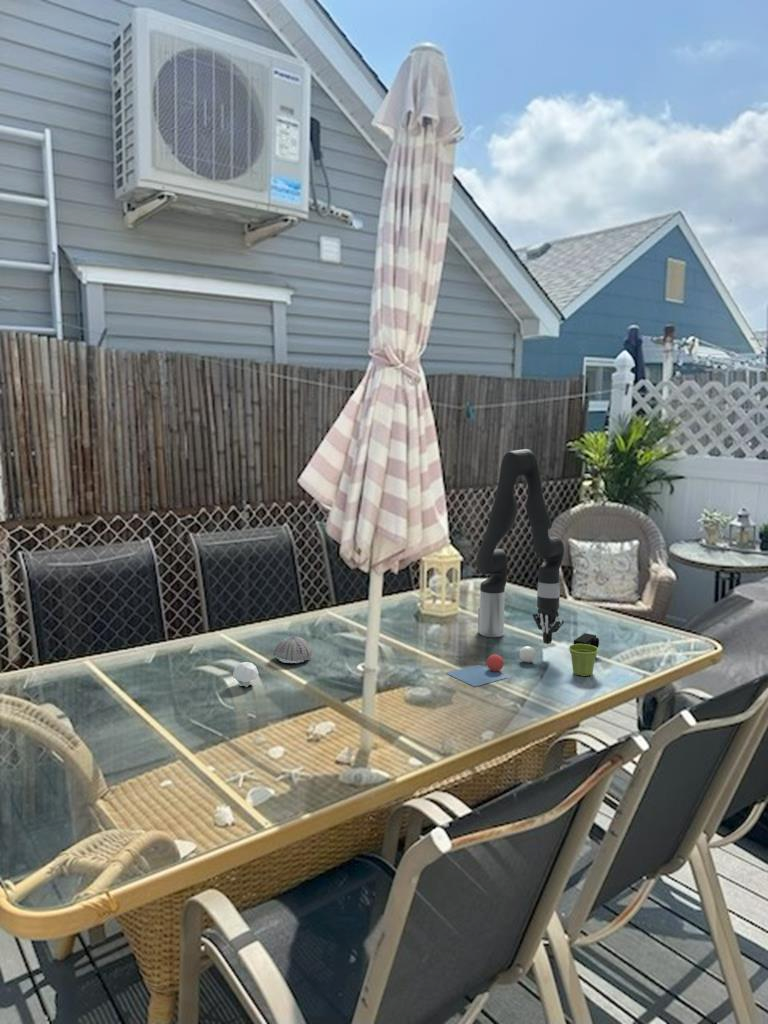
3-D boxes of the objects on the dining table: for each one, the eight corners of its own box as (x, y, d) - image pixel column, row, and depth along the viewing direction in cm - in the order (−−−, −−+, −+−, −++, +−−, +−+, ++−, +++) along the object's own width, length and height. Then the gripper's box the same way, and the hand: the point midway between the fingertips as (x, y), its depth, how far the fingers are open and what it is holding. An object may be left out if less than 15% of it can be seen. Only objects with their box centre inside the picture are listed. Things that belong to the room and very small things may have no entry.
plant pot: (564, 675, 233) (565, 650, 231) (571, 666, 241) (572, 642, 240) (594, 680, 228) (595, 654, 227) (600, 671, 237) (601, 646, 235)
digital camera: (588, 662, 245) (588, 643, 244) (572, 659, 248) (573, 640, 247) (598, 654, 253) (599, 635, 252) (584, 651, 256) (584, 632, 255)
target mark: (446, 673, 235) (446, 673, 235) (478, 665, 242) (478, 664, 242) (474, 687, 223) (474, 686, 223) (507, 677, 231) (507, 677, 231)
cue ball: (515, 661, 246) (516, 645, 245) (527, 658, 249) (527, 642, 248) (527, 665, 242) (527, 650, 241) (539, 662, 245) (539, 647, 244)
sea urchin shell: (315, 654, 254) (315, 632, 253) (308, 667, 241) (307, 644, 240) (279, 652, 256) (278, 631, 254) (269, 666, 242) (268, 643, 241)
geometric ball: (250, 696, 223) (252, 682, 218) (227, 685, 224) (228, 671, 219) (261, 677, 229) (263, 663, 223) (239, 667, 230) (241, 653, 224)
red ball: (483, 670, 238) (483, 654, 237) (495, 666, 241) (495, 651, 240) (494, 675, 233) (494, 658, 233) (506, 671, 236) (507, 655, 236)
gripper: (526, 592, 251) (525, 640, 253) (555, 599, 240) (554, 650, 242) (542, 589, 255) (541, 636, 257) (570, 596, 244) (569, 646, 246)
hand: (547, 643), depth 249 cm, fingers closed
